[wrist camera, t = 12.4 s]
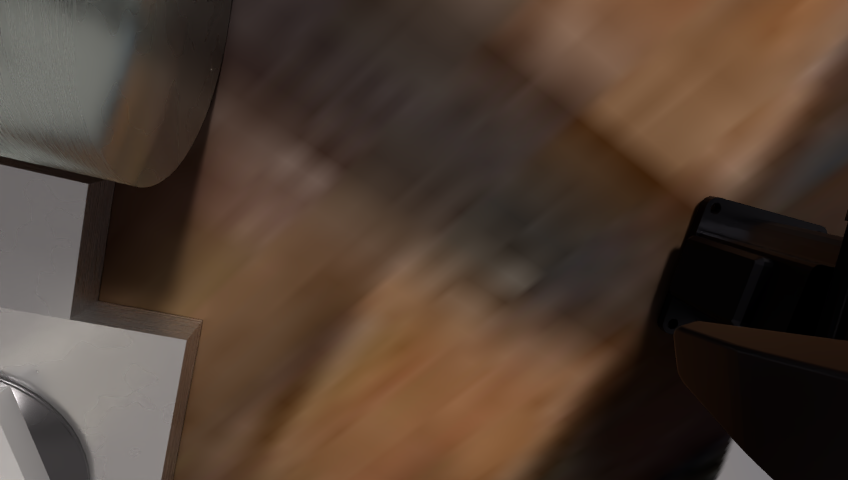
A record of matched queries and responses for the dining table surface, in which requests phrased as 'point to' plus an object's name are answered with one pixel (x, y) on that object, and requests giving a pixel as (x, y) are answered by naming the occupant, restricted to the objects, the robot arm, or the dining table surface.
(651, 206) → the dining table surface
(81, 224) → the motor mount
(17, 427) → the white pedestal with button
